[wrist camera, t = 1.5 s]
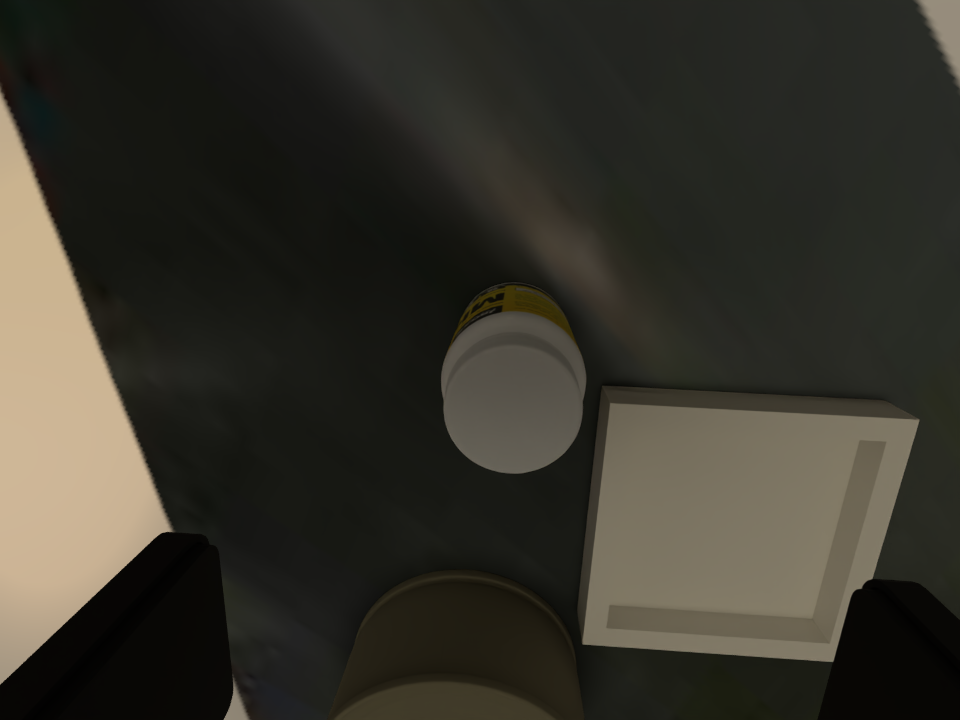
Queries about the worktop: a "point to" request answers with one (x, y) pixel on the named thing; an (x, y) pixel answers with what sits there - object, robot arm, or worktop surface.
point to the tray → (735, 518)
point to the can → (460, 654)
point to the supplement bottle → (513, 380)
